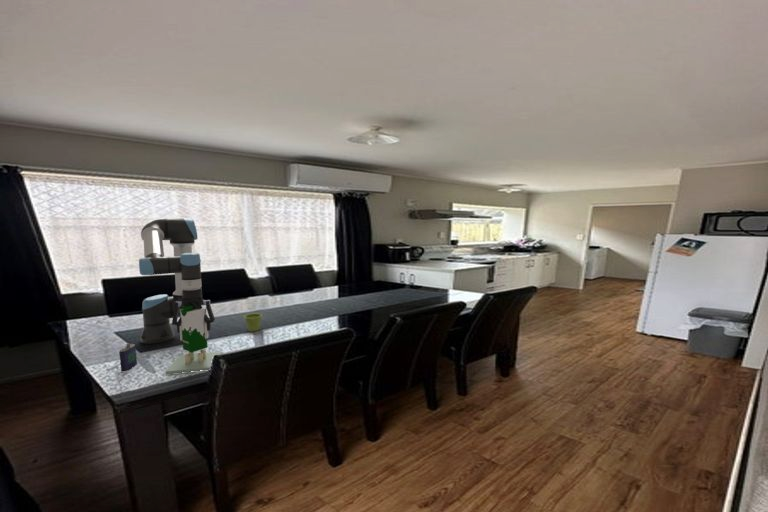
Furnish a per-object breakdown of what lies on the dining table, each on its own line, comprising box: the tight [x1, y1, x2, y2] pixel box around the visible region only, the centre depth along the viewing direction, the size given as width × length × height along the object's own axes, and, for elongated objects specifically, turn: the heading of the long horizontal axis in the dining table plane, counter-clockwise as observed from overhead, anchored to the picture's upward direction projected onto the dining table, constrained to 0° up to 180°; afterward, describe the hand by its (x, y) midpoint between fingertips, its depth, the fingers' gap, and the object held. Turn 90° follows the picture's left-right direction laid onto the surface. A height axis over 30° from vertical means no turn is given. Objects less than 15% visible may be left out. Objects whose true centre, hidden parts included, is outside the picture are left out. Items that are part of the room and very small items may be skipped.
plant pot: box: [244, 313, 263, 333], centre depth 198 cm, size 9×9×9 cm
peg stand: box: [165, 348, 223, 375], centre depth 151 cm, size 18×18×6 cm
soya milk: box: [180, 305, 208, 353], centre depth 150 cm, size 9×9×20 cm
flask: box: [118, 343, 138, 372], centre depth 147 cm, size 9×3×11 cm, turn 8°
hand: (194, 338), depth 150 cm, fingers closed on soya milk, 9 cm apart
